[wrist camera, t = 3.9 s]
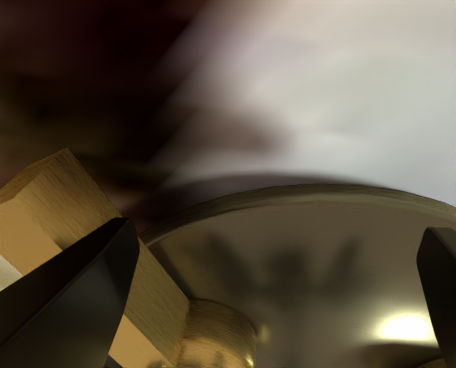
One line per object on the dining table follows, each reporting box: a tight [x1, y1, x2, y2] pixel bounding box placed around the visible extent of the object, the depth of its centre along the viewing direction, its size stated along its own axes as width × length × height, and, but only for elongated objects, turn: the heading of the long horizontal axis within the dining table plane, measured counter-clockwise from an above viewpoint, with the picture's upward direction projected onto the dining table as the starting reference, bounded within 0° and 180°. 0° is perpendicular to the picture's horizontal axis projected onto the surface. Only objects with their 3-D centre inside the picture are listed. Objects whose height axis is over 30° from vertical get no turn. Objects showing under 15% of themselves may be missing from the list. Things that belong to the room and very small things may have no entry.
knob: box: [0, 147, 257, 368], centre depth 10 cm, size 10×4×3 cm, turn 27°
